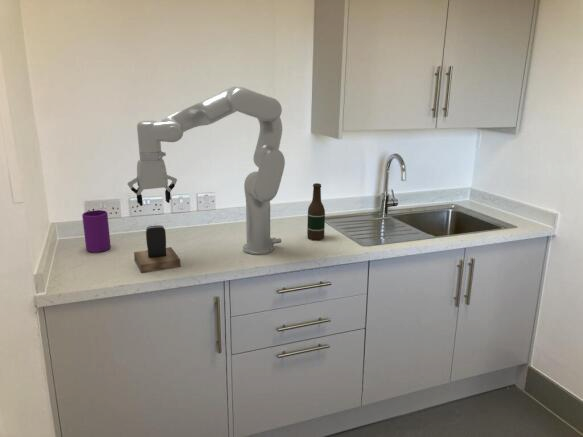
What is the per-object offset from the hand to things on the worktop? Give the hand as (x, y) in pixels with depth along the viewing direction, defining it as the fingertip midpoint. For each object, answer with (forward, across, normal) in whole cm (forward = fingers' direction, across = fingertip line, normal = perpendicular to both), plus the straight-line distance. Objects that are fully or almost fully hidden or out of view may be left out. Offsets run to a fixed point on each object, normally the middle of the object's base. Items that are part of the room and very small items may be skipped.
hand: (154, 203), depth 178 cm
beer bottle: (+23, -67, +2) cm, 71 cm away
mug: (+23, +18, -27) cm, 40 cm away
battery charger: (+20, +1, +1) cm, 20 cm away
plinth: (+23, +1, +1) cm, 23 cm away
